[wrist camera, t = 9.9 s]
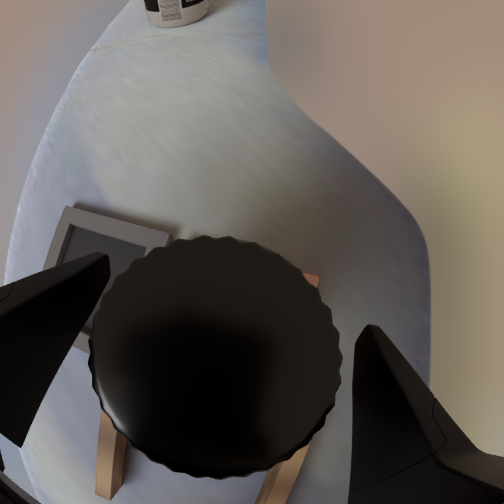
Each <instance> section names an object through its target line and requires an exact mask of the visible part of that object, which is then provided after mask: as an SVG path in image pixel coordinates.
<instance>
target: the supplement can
mask: <svg viewBox="0 0 504 504" xmlns="http://www.w3.org/2000/svg"><path fill="white" fill-rule="evenodd" d="M144 5H145V9H146V14H147V18H148V22H149V23H150V24H151V25H155V26H156V27H160V28H174V27H180V26H184V25H188V24H191V23H194V22H196V21H198V20H200V19H201V18H203V16H204V15H205V14H207V12H208V11H209V1H208V0H144Z"/></svg>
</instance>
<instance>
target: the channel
mask: <svg viewBox="0 0 504 504" xmlns="http://www.w3.org/2000/svg"><path fill="white" fill-rule="evenodd" d="M310 442H311V441H310ZM309 445H310V443H309V444H308V445H307V446H305V447H303V448H301V449H299V450H297V451H296V452H295V453H294V455H293V456H292V457H291V459H290V460H287V461H284V462H280V463H277V464H276V465H275V466H274V467H272V468H271V469H270V470H268V473H267V476H266V478H265V481H264V483H263V486H262V488H261V491H260V493H259V496H258V498H257V500H256V503H255V504H285V502H286V500H287V498H288V495H289V493H290V491H291V489H292V487H293V484H294V482H295V480H296V477H297V475H298V473H299V470H300V468H301V465H302V463H303V460H304V458H305V455H306V453H307V450H308V447H309ZM126 446H127V439H126V438H125V437H124V436H123V435H122V434H120V433H119V432H118V431H116V430H115V429H114V427H113V425H112V422H111V420H110V418H109V417H108V416H107V415H106V414H105V413H104V411H103V410H102V412H101V420H100V428H99V438H98V448H97V462H96V487H95V494H97V495H99V496H101V497H103V498H105V499H107V500H109V501H111V499H112V498H113V497H114V495H115V494H116V493H117V492H118V490H119V489H120V488H121V486H122V477H123V468H124V460H125V453H126Z"/></svg>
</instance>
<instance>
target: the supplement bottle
mask: <svg viewBox="0 0 504 504" xmlns="http://www.w3.org/2000/svg"><path fill="white" fill-rule="evenodd" d="M92 326H93V330H92V333H91V334H90V336H89V339H88V344H89V349H90V357H89V360H88V366H89V369H90V371H91V373H92V387H93V389H94V391H95V392H96V394H97V395H98V397H99V400H100V405H101V409H102V410H103V411H104V413H105V414H106V415H107V416H108V417H109V418H110V420H111V422H112V425H113V427H114V429H115V430H116V431H118V432H119V433H120V434H122V435H123V436H124V437H125V438H126V439H127V441H128V443H129V444H130V446H131V447H133V448H135V449H137V450H139V451H141V452H143V453H144V454H145V455H146V457H147V458H148V459H149V460H151V461H153V462H156V463H159V464H163V465H164V466H166V467H167V468H168V469H170V470H171V471H173V472H179V473H186V474H188V475H190V476H193V477H195V478H203V477H211V478H214V479H219V480H222V479H226V478H229V477H247V476H249V475H251V474H252V473H255V472H262V471H268V470H270V469H271V468H272V467H274V466H275V465H276V464H277V463H280V462H284V461H287V460H290V459H291V457H292V456H293V455H294V453H295V452H296V451H297V450H299V449H301V448H303V447H305V446H307V445H308V444H309V443H310V441H311V439H312V437H313V435H314V434H315V433H316V432H317V431H319V430H320V429H321V428H322V427H323V426H324V423H325V418H326V415H327V414H328V413H329V412H330V411H331V409H332V408H333V407H334V406H335V393H336V391H337V390H338V388H339V386H340V384H341V376H340V372H339V370H340V367H341V364H342V360H343V356H342V353H341V351H340V349H339V347H338V346H339V336H340V333H339V332H338V330H337V328H336V327H335V326H334V325H333V323H332V313H331V309H330V308H329V307H328V306H327V305H325V304H324V303H323V302H322V300H321V297H320V293H319V291H318V288H317V287H315V286H314V285H312V284H310V283H309V281H308V280H307V279H306V278H305V277H304V275H303V273H302V272H301V270H300V269H298V268H296V267H295V266H294V265H292V264H291V263H290V262H289V261H287V260H286V259H285V258H283V257H282V256H280V255H279V254H278V253H275V252H273V251H271V250H269V249H268V248H265V247H263V246H260V245H258V244H257V243H255V242H248V241H243V240H238V239H235V238H233V237H230V236H227V237H222V238H212V237H209V236H205V235H203V236H200V237H197V238H195V239H193V240H186V239H177V240H176V241H174V242H172V243H171V244H170V245H168V246H166V247H162V246H160V247H155V248H153V249H152V250H151V251H150V252H149V253H148V254H147V255H146V256H145V257H143V258H138V259H135V260H133V261H132V263H131V264H130V266H129V267H128V269H127V270H126V271H125V272H123V273H120V274H119V275H117V276H116V277H115V279H114V281H113V284H112V287H111V288H110V289H109V290H108V291H107V292H105V293H104V294H103V295H102V298H101V302H100V308H99V310H98V311H97V312H96V313H95V315H94V316H93V322H92Z"/></svg>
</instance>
